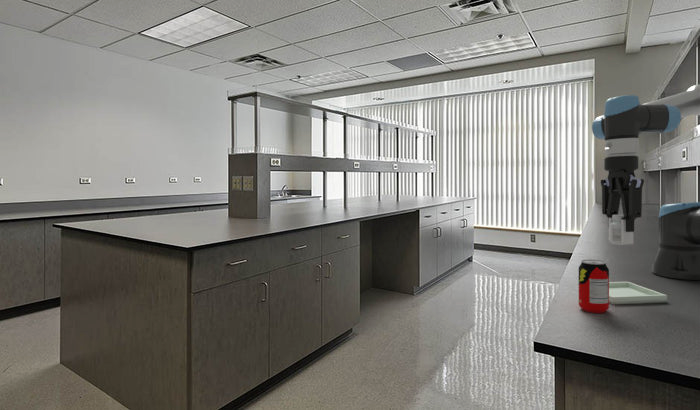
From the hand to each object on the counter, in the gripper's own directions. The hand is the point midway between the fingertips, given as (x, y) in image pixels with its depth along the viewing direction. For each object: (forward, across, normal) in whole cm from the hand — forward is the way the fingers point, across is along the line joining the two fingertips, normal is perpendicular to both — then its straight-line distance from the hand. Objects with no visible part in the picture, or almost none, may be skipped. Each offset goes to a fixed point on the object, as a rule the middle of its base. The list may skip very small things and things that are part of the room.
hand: (620, 242), depth 108 cm
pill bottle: (+1, 0, 0) cm, 1 cm away
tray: (+15, 0, 0) cm, 15 cm away
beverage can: (+15, +11, -14) cm, 23 cm away
